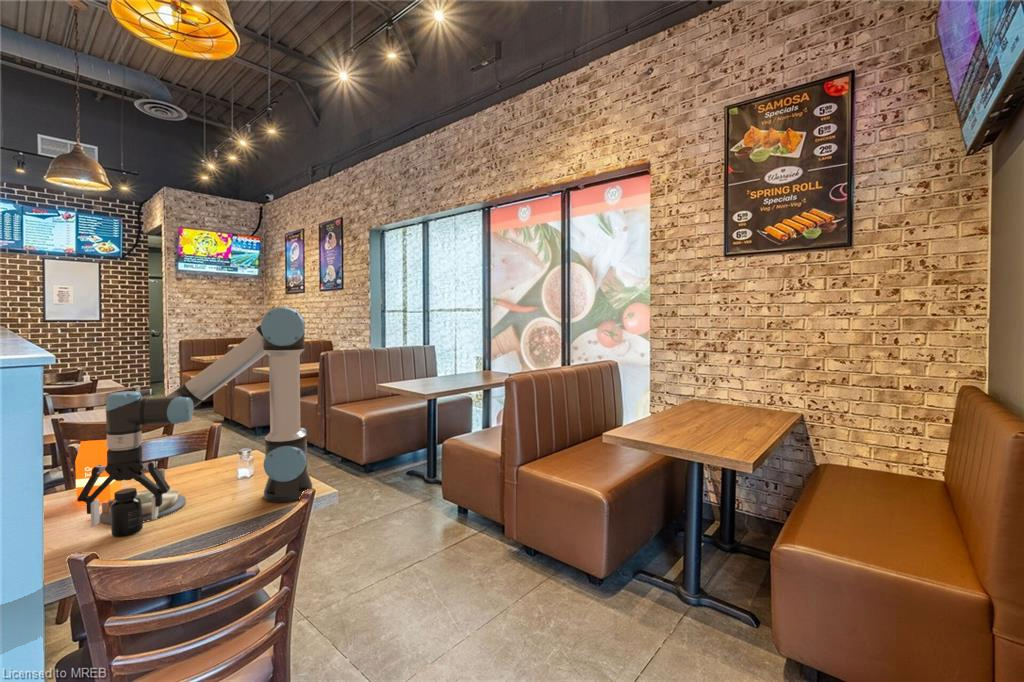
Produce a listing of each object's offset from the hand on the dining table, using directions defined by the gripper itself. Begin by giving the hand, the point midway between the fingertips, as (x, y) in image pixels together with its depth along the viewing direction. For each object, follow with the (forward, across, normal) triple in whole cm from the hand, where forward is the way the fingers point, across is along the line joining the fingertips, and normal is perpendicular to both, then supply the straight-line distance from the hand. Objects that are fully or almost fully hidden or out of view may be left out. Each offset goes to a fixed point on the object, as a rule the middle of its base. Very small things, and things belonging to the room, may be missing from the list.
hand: (125, 521), depth 128 cm
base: (+3, -1, +16) cm, 16 cm away
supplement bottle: (+4, 0, 0) cm, 4 cm away
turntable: (+2, -1, +16) cm, 16 cm away
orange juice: (+4, -18, +31) cm, 36 cm away
